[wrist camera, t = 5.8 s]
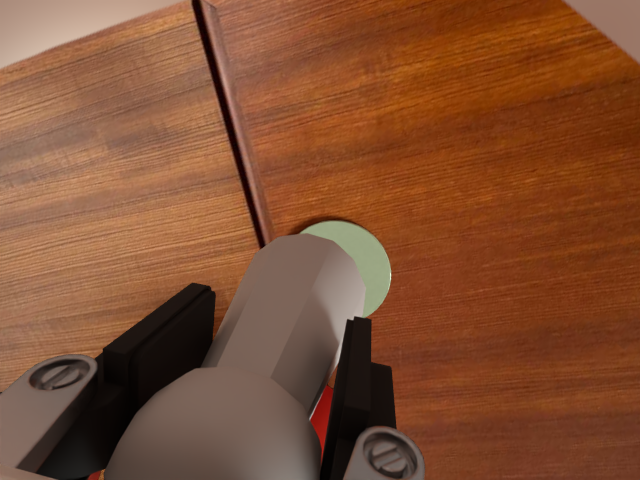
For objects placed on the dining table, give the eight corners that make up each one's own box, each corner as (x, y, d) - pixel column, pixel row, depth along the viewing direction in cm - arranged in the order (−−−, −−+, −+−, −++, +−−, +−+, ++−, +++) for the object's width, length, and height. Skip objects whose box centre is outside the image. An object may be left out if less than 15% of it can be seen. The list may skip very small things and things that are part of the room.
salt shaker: (324, 201, 17) (208, 337, 5) (387, 290, 18) (426, 606, 6) (238, 261, 19) (-19, 483, 6) (299, 341, 20) (177, 679, 7)
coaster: (262, 258, 36) (260, 260, 35) (348, 197, 33) (348, 198, 32) (324, 339, 37) (323, 342, 37) (412, 287, 34) (413, 289, 34)
